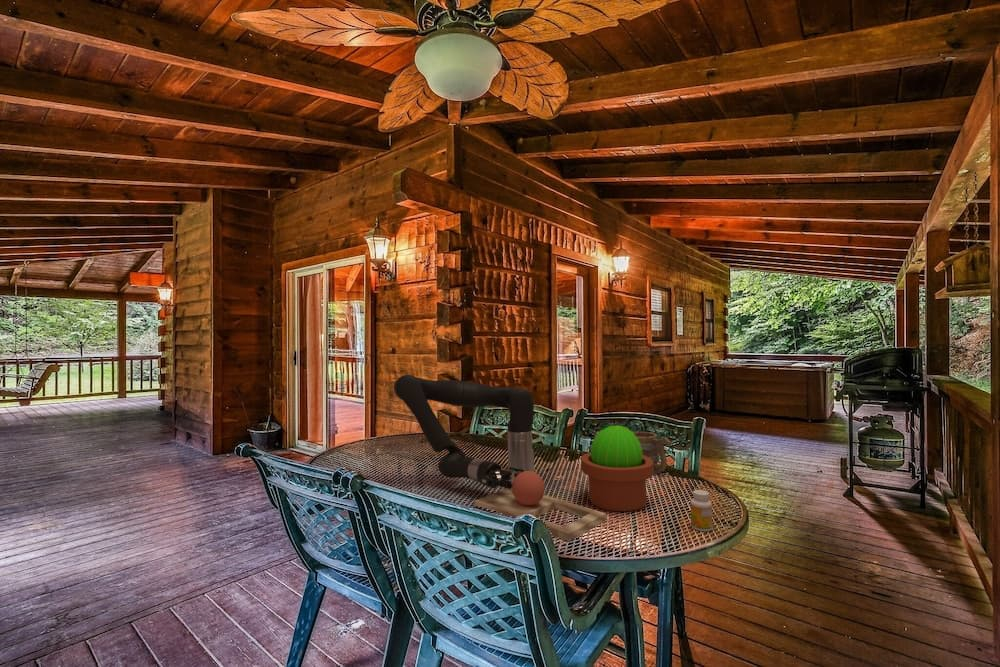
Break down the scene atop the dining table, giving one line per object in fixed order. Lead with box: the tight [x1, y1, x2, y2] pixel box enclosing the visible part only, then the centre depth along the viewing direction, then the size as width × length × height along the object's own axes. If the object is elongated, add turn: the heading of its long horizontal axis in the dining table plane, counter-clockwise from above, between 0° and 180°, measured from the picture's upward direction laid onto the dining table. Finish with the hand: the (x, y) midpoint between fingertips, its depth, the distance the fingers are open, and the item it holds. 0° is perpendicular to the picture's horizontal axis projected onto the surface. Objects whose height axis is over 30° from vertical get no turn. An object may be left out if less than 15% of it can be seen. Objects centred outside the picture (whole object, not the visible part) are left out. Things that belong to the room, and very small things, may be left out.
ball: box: [512, 471, 546, 506], centre depth 141 cm, size 10×10×10 cm
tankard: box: [632, 431, 672, 476], centre depth 176 cm, size 20×13×15 cm, turn 23°
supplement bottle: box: [690, 489, 713, 532], centre depth 127 cm, size 5×5×10 cm
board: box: [474, 488, 607, 542], centre depth 139 cm, size 18×36×2 cm, turn 46°
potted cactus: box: [580, 423, 654, 512], centre depth 147 cm, size 22×22×25 cm
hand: (520, 482), depth 143 cm, fingers open, 8 cm apart
